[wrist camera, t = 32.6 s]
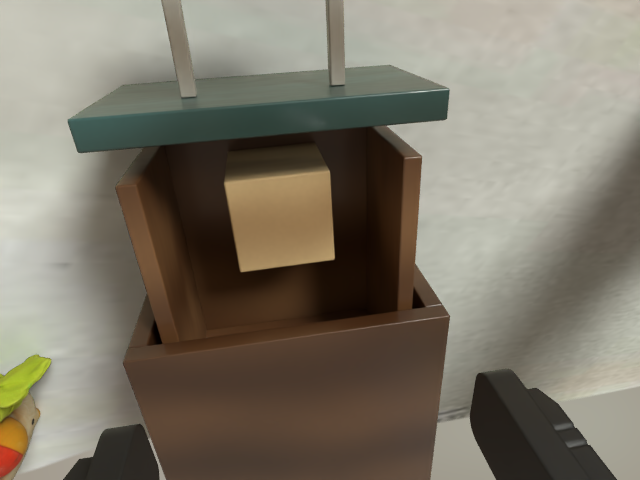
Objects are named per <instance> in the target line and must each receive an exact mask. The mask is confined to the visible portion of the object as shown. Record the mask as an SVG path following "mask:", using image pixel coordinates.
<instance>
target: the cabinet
mask: <svg viewBox="0 0 640 480" xmlns="http://www.w3.org/2000/svg"><path fill="white" fill-rule="evenodd" d="M449 320H450V315H449V314H448V312H447V311H446V309H445V308H444V306H443V305H442V303H441V302H440V300H439V299H438V297H437V296H436V294H435V293H434V291H433V290H432V288H431V287H430V285H429V284H428V282H427V281H426V279H425V278H424V276H423V275H422V273H421V272H420V270H419V268H418V267H417V265H416V264H415V271H414V286H413V301H412V309H409V310H402V311H395V312H388V313H381V314H374V315H366V316H359V317H352V318H345V319H338V320H331V321H323V322H316V323H309V324H302V325H295V326H287V327H280V328H273V329H266V330H259V331H252V332H244V333H237V334H230V335H223V336H216V337H209V338H201V339H194V340H187V341H180V342H173V343H166V344H162V341H161V338H160V334H159V331H158V328H157V324H156V321H155V318H154V314H153V311H152V308H151V305H150V301H149V298H148V295H146V297H145V300H144V303H143V306H142V309H141V312H140V315H139V318H138V321H137V323H136V326H135V329H134V332H133V335H132V338H131V341H130V344H129V347H128V349H127V352H126V355H125V358H124V361H123V364H124V367H125V370H126V372H127V375H128V378H129V381H130V383H131V386H132V389H133V391H134V394H135V397H136V399H137V402H138V405H139V408H140V410H141V413H142V416H143V418H144V421H145V424H146V426H147V429H148V432H149V435H150V437H151V440H152V443H153V445H154V448H155V451H156V453H157V456H158V459H159V462H160V464H161V467H162V470H163V472H164V475H165V478H166V480H430V477H431V469H432V460H433V452H434V443H435V435H436V427H437V419H438V411H439V402H440V394H441V386H442V378H443V369H444V361H445V353H446V344H447V336H448V328H449Z"/></svg>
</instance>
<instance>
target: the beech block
mask: <svg viewBox="0 0 640 480" xmlns="http://www.w3.org/2000/svg"><path fill="white" fill-rule="evenodd" d="M224 188H225V193H226V199H227V204H228V210H229V215H230V220H231V226H232V231H233V237H234V242H235V248H236V253H237V258H238V264H239V269H240V272H249V271H256V270H263V269H271V268H278V267H286V266H293V265H300V264H308V263H315V262H323V261H330V260H334V259H335V252H334V234H333V216H332V198H331V180H330V171H329V169H328V167H327V165H326V163H325V161H324V159H323V157H322V155H321V153H320V151H319V149H318V147H317V145H316V144H315V143H314V142H313V143H303V144H294V145H285V146H275V147H266V148H256V149H247V150H238V151H229V152H228V154H227V162H226V170H225V178H224Z"/></svg>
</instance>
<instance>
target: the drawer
mask: <svg viewBox="0 0 640 480" xmlns="http://www.w3.org/2000/svg"><path fill="white" fill-rule="evenodd" d="M161 1H162V6H163V11H164V16H165V21H166V26H167V31H168V36H169V41H170V46H171V51H172V56H173V61H174V65H175V70H176V75H177V80H178V81H170V82H156V83H143V84H130V85H122V86H121V87H119V88H117V89H116V90H114V91H113V92H111V93H110V94H108V95H106V96H105V97H103V98H102V99H100V100H98V101H97V102H95V103H94V104H92V105H90V106H89V107H87V108H86V109H84V110H83V111H81V112H79V113H78V114H76V115H75V116H73V117H71V118H70V119H68V124H69V127H70V130H71V133H72V136H73V139H74V142H75V145H76V149H77V151H78V153H88V152H99V151H110V150H121V149H132V148H143V147H144V148H143V149H142V151H141V152H140V153H139V155H138V156H137V158H136V159H135V160H134V162H133V163H132V164H131V166H130V167H129V169H128V170H127V171H126V173H125V174H124V175H123V177H122V178H121V180H120V181H119V182H118V184H117V185H116V187H115V188H116V192H117V195H118V198H119V202H120V205H121V208H122V212H123V215H124V218H125V222H126V225H127V228H128V232H129V235H130V238H131V242H132V245H133V248H134V251H135V255H136V258H137V261H138V265H139V268H140V271H141V275H142V278H143V281H144V285H145V288H146V291H147V295H148V298H149V301H150V305H151V308H152V311H153V314H154V318H155V321H156V324H157V328H158V331H159V334H160V338H161V341H162V344H166V343H173V342H180V341H187V340H194V339H201V338H209V337H216V336H223V335H230V334H237V333H244V332H252V331H259V330H266V329H273V328H280V327H287V326H295V325H302V324H309V323H316V322H323V321H331V320H338V319H345V318H352V317H359V316H366V315H374V314H381V313H388V312H395V311H402V310H409V309H412V301H413V286H414V271H415V256H416V240H417V225H418V210H419V195H420V180H421V165H422V156H421V155H420V154H419V153H418V152H416V151H415V150H414V149H413V148H412V147H410V146H409V145H408V144H407V143H406V142H404V141H403V140H402V139H401V138H400V137H399V136H397V135H396V134H395V133H394V132H393V131H391V130H390V129H389V128H388V127H387V126H385V125H396V124H407V123H418V122H429V121H440V120H446V119H447V111H448V100H449V88H447V87H444V86H442V85H439V84H437V83H434V82H432V81H429V80H427V79H424V78H422V77H419V76H417V75H414V74H412V73H409V72H406V71H404V70H401V69H399V68H396V67H394V66H391V65H382V66H369V67H356V68H345V53H344V7H343V0H326V22H327V47H328V70H316V71H302V72H289V73H276V74H263V75H249V76H236V77H223V78H210V79H196V80H195V77H194V72H193V66H192V61H191V55H190V50H189V44H188V39H187V33H186V28H185V22H184V17H183V11H182V6H181V0H161ZM313 142H314V143H315V144H316V145H317V147H318V149H319V151H320V153H321V155H322V157H323V159H324V161H325V163H326V165H327V167H328V169H329V171H330V180H331V198H332V216H333V234H334V252H335V259H334V260H330V261H323V262H315V263H308V264H300V265H293V266H286V267H278V268H271V269H263V270H256V271H249V272H240V269H239V264H238V258H237V253H236V248H235V242H234V237H233V231H232V226H231V220H230V215H229V210H228V204H227V199H226V193H225V188H224V178H225V170H226V162H227V154H228V152H229V151H238V150H247V149H256V148H266V147H275V146H285V145H294V144H303V143H313Z"/></svg>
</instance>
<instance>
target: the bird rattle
mask: <svg viewBox="0 0 640 480" xmlns="http://www.w3.org/2000/svg"><path fill="white" fill-rule="evenodd" d="M50 364H51V359H50V358H44V357H40V356H39V355H34V356H31V357H29V358H28V359H27V360H26V361H25V362H24V363H22V364H20V365H19V366H17V367H15V368H13V369H12V370H10V371H9V372H8V373H7V374H6V375H5V376H3V375H2V374H0V480H12V479H13V478H14V477H15V475H16V473H17V471H18V469H19V468H20V466H21V463H22V461H23V459H24V457H25V454H26V452H27V449H28V446H29V443H30V440H31V437H32V433H33V430H34V427H35V424H36V422H37V421H38V419H39V417H40V411H39V409H37V408H35V403H34V400H33V398H32V396H31V395H30V393H29V389H30V388H31V387H32V385H33V384H34V383H35V382H37V381H38V380H40V379H41V377H42V376H43V374H44V373H45V372H46V370H47V369H48V367H49V366H50Z"/></svg>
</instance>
